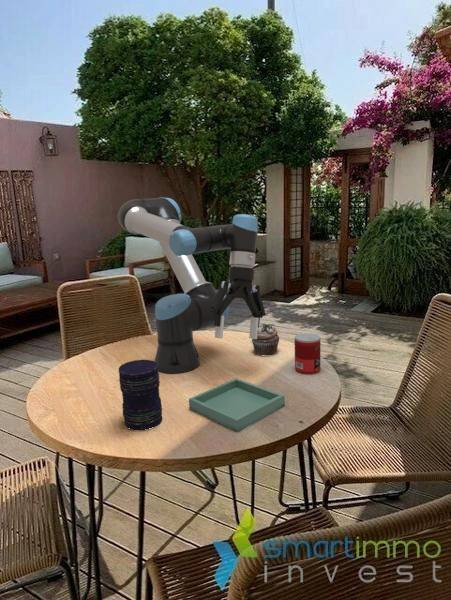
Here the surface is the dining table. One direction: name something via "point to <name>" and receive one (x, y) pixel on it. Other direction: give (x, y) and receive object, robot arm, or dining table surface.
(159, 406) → the dark blue ribbed cylinder
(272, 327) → the cupcake
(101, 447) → the dining table surface
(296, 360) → the canned food
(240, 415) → the tray
